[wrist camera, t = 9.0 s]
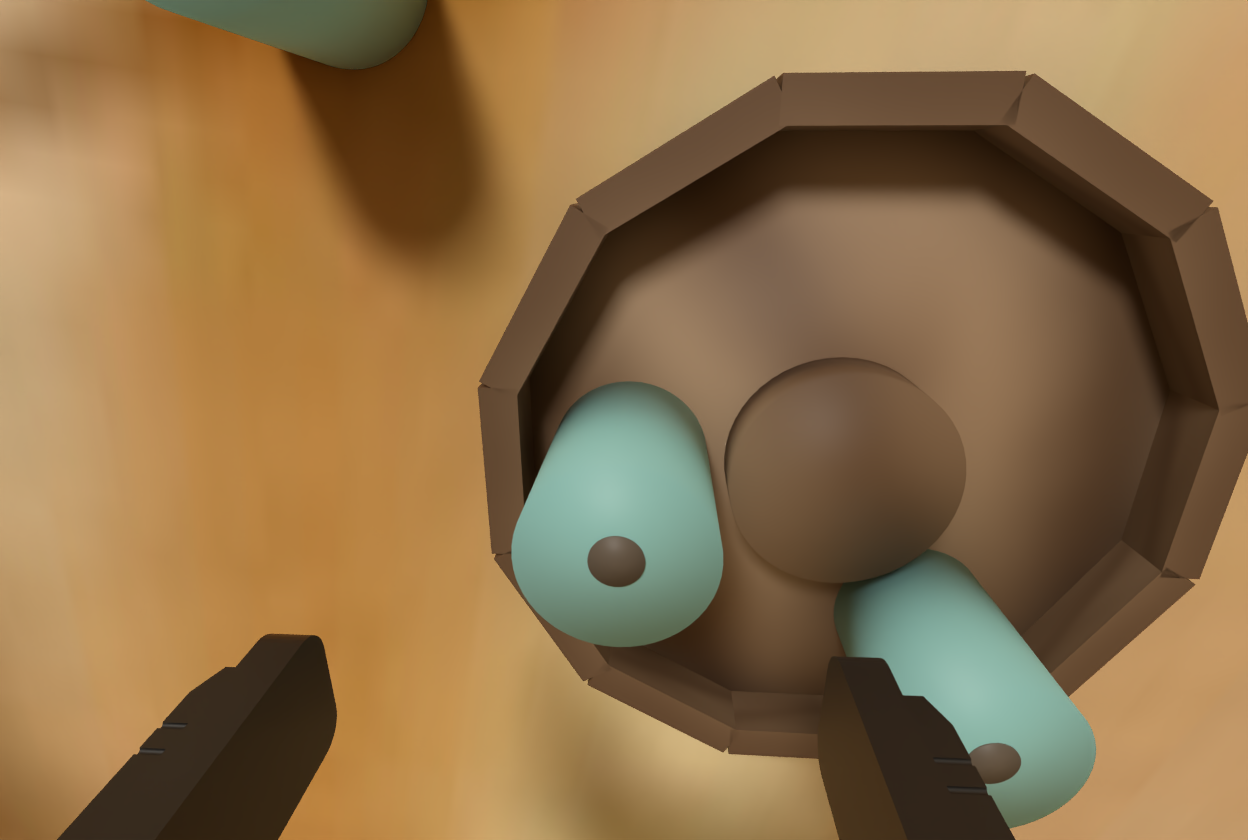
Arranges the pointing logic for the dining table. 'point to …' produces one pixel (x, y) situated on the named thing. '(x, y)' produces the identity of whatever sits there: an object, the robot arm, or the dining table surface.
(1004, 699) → the bead
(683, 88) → the dining table surface
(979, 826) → the robot arm
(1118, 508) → the ring tray
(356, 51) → the bead
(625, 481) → the bead
